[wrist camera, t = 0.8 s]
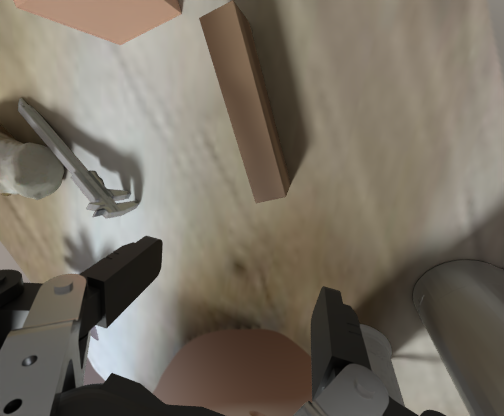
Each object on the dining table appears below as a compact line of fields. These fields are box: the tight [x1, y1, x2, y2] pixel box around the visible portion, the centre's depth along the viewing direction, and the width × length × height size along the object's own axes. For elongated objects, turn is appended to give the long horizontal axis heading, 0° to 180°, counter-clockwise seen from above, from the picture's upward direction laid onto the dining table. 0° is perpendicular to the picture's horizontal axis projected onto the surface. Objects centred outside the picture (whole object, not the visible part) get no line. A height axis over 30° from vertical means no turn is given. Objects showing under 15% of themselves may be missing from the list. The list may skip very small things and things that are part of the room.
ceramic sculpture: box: [0, 125, 64, 200], centre depth 32 cm, size 11×9×15 cm
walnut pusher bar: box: [199, 1, 291, 203], centre depth 23 cm, size 3×16×5 cm, turn 17°
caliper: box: [18, 98, 139, 218], centre depth 30 cm, size 21×1×6 cm, turn 51°
